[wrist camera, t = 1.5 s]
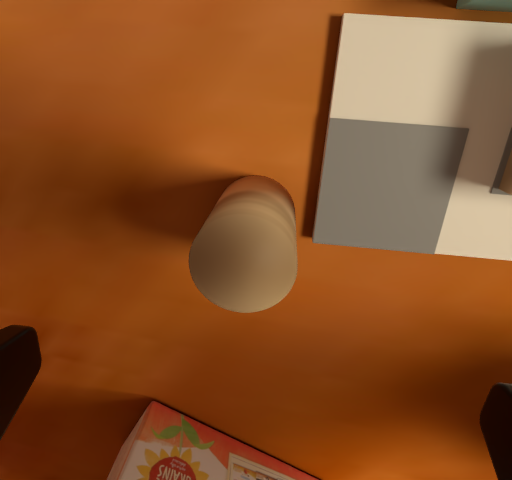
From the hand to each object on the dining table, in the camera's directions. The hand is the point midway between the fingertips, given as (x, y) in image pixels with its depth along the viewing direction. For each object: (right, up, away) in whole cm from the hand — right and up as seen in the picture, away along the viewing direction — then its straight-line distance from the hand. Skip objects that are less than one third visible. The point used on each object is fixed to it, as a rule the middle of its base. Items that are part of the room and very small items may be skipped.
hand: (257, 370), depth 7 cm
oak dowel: (0, +4, +12) cm, 12 cm away
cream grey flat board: (+11, +7, +10) cm, 16 cm away
